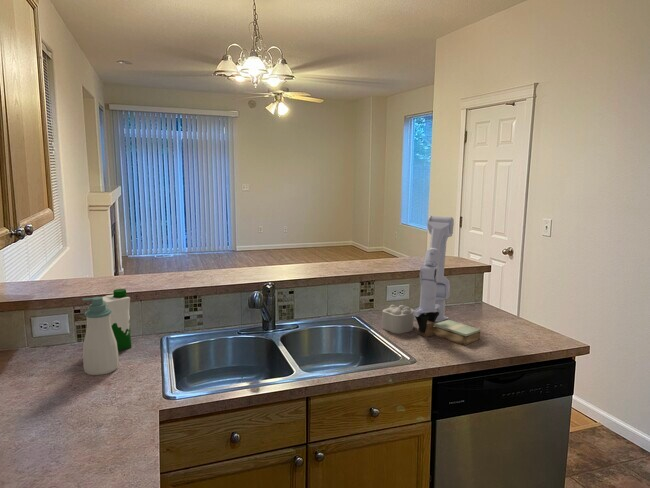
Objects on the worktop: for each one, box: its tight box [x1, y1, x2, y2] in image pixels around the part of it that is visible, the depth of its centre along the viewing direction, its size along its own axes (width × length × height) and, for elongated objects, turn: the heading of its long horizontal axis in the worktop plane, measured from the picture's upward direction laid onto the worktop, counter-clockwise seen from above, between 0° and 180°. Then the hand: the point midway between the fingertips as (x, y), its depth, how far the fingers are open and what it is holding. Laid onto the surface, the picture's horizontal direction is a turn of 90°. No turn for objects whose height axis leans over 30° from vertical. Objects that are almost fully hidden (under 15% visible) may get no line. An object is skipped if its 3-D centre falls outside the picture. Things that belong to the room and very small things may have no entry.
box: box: [432, 326, 481, 346], centre depth 175 cm, size 14×10×3 cm
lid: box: [434, 319, 481, 336], centre depth 175 cm, size 14×10×1 cm
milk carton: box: [102, 288, 132, 352], centre depth 157 cm, size 9×9×20 cm
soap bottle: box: [81, 296, 120, 376], centre depth 140 cm, size 10×10×23 cm
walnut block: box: [417, 320, 435, 338], centre depth 177 cm, size 4×4×5 cm
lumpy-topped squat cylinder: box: [381, 304, 415, 334], centre depth 184 cm, size 10×13×9 cm
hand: (425, 330), depth 177 cm, fingers closed on walnut block, 4 cm apart
